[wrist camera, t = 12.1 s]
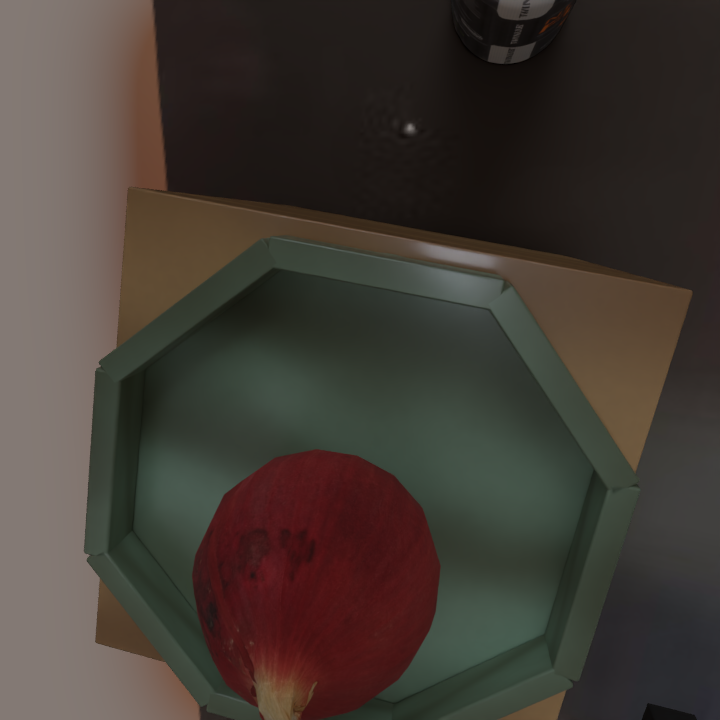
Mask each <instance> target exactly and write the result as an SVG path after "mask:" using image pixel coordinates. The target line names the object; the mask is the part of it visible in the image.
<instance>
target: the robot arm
mask: <svg viewBox="0 0 720 720" xmlns="http://www.w3.org/2000/svg"><path fill="white" fill-rule="evenodd" d="M642 720H697V719H696V717H695V715H692V714H688V713H684V712H680V711H676V710H673V709H669V708H665V707H661V706H657V705H653V704H649V703H648V704H647V707H646V710H645V712H644V715H643V718H642Z"/></svg>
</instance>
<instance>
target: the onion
mask: <svg viewBox="0 0 720 720" xmlns="http://www.w3.org/2000/svg"><path fill="white" fill-rule="evenodd" d="M440 568H441V565H440V562H439V559H438V555H437V552H436V549H435V546H434V542H433V539H432V536H431V533H430V529H429V526H428V523H427V520H426V517H425V514H424V511H423V508H422V507H421V505H420V504H419V503H418V502H417V501H416V500H415V499H414V498H413V496H412V495H411V494H410V493H409V492H408V491H407V490H406V488H405V487H404V486H403V485H402V484H401V483H400V482H399V480H398V479H397V478H396V477H395V476H394V475H393V474H391V473H389V472H387V471H385V470H383V469H381V468H380V467H378V466H376V465H374V464H372V463H370V462H368V461H366V460H365V459H363V458H361V457H359V456H357V455H351V454H344V453H338V452H332V451H326V450H319V449H314V450H309V451H304V452H299V453H295V454H290V455H285V456H280V457H275V458H274V459H272V460H271V461H269V462H268V463H267V464H265V465H264V466H262V467H261V468H259V469H258V470H257V471H255V472H254V473H252V474H251V475H249V476H248V477H247V478H245V479H244V480H242V481H241V482H240V483H238V484H237V485H236V486H234V487H233V488H232V489H231V490H229V491H228V492H227V493H225V494H224V496H223V498H222V500H221V502H220V504H219V506H218V508H217V510H216V512H215V514H214V516H213V518H212V520H211V523H210V525H209V527H208V529H207V531H206V533H205V535H204V537H203V540H202V542H201V544H200V546H199V548H198V550H197V552H196V554H195V560H194V566H193V572H192V580H193V588H194V596H195V600H196V607H197V614H198V618H199V621H200V625H201V628H202V631H203V635H204V638H205V641H206V645H207V647H208V650H209V652H210V654H211V657H212V659H213V661H214V663H215V665H216V667H217V669H218V671H219V673H220V675H221V676H222V678H223V680H224V681H225V683H226V685H227V686H228V687H229V688H231V689H232V690H233V691H234V692H236V693H237V694H238V695H239V696H241V697H242V698H243V699H244V700H246V701H247V702H248V703H249V704H251V705H253V706H255V707H258V708H259V714H260V717H261V719H262V720H320V719H324V718H328V717H332V716H336V715H340V714H344V713H348V712H351V711H354V710H356V709H358V708H360V707H361V706H362V705H364V704H365V703H367V702H368V701H369V700H371V699H372V698H374V697H375V696H376V695H378V694H379V693H381V692H382V691H383V690H385V689H386V688H388V687H389V686H390V685H392V684H393V683H395V682H396V681H397V680H399V678H400V677H401V676H402V674H403V673H404V672H405V671H406V669H407V668H408V667H409V665H410V663H411V662H412V660H413V658H414V657H415V655H416V653H417V651H418V650H419V648H420V646H421V644H422V643H423V641H424V639H425V638H426V636H427V634H428V632H429V631H430V628H431V625H432V622H433V619H434V615H435V612H436V605H437V596H438V587H439V577H440Z"/></svg>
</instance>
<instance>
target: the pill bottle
mask: <svg viewBox="0 0 720 720" xmlns="http://www.w3.org/2000/svg"><path fill="white" fill-rule="evenodd" d="M451 2H452V17H453V21H454V25H455V29H456V32H457V34H458V35H459V36H460V38H461V40H462V42H463V43H464V45H465V46H466V47H467V48H468V49H469V50H470V51H471V52H472V53H473V54H475V55H476V56H478V57H479V58H481V59H483V60H485V61H488V62H492V63H498V64H511V63H517V62H521V61H524V60H526V59H529V58H531V57H533V56H535V55H536V54H538V53H539V52H541V51H542V50H543V49H545V48H546V47H547V46H548V45H549V44H550V43H551V42H552V40H553V39H554V38H555V37H556V35H557V34H558V32H559V31H560V29H561V27H562V25H563V24H564V22H565V20H566V18H567V17H568V15H569V13H570V11H571V9H572V7H573V6H574V4H575V2H576V0H451Z"/></svg>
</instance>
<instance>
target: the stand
mask: <svg viewBox="0 0 720 720" xmlns="http://www.w3.org/2000/svg"><path fill="white" fill-rule="evenodd" d="M125 224H126V225H125V238H124V251H123V265H122V279H121V293H120V294H121V295H120V307H119V322H118V335H117V348H116V349H115V350H113V351H112V352H111V353H109V354H108V355H107V356H105V357H104V358H103V359H101V360H100V361H99V364H100V365H101V367H99V368H97V369H96V371H95V387H94V404H93V419H92V434H91V451H90V466H89V482H88V497H87V513H86V529H85V545H84V552H85V553H86V554H89V555H90V556H89V557H88V558H87V562H88V563H89V564H90V566H91V567H92V568H93V570H94V571H95V572H96V573H97V575H98V576H99V577H100V584H99V598H98V612H97V627H96V641H95V642H96V643H98V644H102V645H105V646H109V647H112V648H116V649H120V650H123V651H127V652H131V653H134V654H138V655H142V656H145V657H149V658H152V659H156V660H159V661H163V662H166V663H167V664H168V666H169V667H170V668H171V669H172V671H173V672H174V673H175V674H176V676H177V677H178V678H179V679H180V681H181V682H182V683H183V685H184V686H185V687H186V689H187V690H188V691H189V692H190V694H191V695H192V696H193V698H194V699H195V700H196V701H197V703H198V704H199V705H200V706H201V707H202V706H204V705H206V704H207V712H210V713H214V714H217V715H221V716H224V717H228V718H232V719H235V720H262V719H261V717H260V714H259V708H258V707H255V706H253V705H251V704H249V703H248V702H247V701H246V700H244V699H243V698H242V697H241V696H239V695H238V694H237V693H236V692H234V691H233V690H232V689H231V688H229V687H228V686H227V685H226V683H225V681H224V680H223V678H222V676H221V675H220V673H219V671H218V669H217V667H216V665H215V663H214V661H213V659H212V657H211V654H210V652H209V650H208V647H207V645H206V641H205V638H204V635H203V631H202V628H201V625H200V621H199V618H198V614H197V607H196V600H195V596H194V588H193V580H192V572H193V566H194V560H195V554H196V552H197V550H198V548H199V546H200V544H201V542H202V540H203V537H204V535H205V533H206V531H207V529H208V527H209V525H210V523H211V520H212V518H213V516H214V514H215V512H216V510H217V508H218V506H219V504H220V502H221V500H222V498H223V496H224V494H225V493H227V492H228V491H229V490H231V489H232V488H233V487H234V486H236V485H237V484H238V483H240V482H241V481H242V480H244V479H245V478H247V477H248V476H249V475H251V474H252V473H254V472H255V471H257V470H258V469H259V468H261V467H262V466H264V465H265V464H267V463H268V462H269V461H271V460H272V459H274V458H275V457H280V456H285V455H290V454H295V453H299V452H304V451H309V450H314V449H319V450H326V451H332V452H338V453H344V454H351V455H357V456H359V457H361V458H363V459H365V460H366V461H368V462H370V463H372V464H374V465H376V466H378V467H380V468H381V469H383V470H385V471H387V472H389V473H391V474H393V475H394V476H395V477H396V478H397V479H398V480H399V482H400V483H401V484H402V485H403V486H404V487H405V488H406V490H407V491H408V492H409V493H410V494H411V495H412V496H413V498H414V499H415V500H416V501H417V502H418V503H419V504H420V505H421V507H422V508H423V511H424V514H425V517H426V520H427V523H428V526H429V529H430V533H431V536H432V539H433V542H434V546H435V549H436V552H437V555H438V559H439V562H440V565H441V568H440V577H439V587H438V596H437V605H436V612H435V615H434V619H433V622H432V625H431V628H430V631H429V632H428V634H427V636H426V638H425V639H424V641H423V643H422V644H421V646H420V648H419V650H418V651H417V653H416V655H415V657H414V658H413V660H412V662H411V663H410V665H409V667H408V668H407V669H406V671H405V672H404V673H403V674H402V676H401V677H400V678H399V680H397V681H396V682H395V683H393V684H392V685H390V686H389V687H388V688H386V689H385V690H383V691H382V692H381V693H379V694H378V695H376V696H375V697H374V698H372V699H371V700H369V701H368V702H367V703H365V704H364V705H362V706H361V707H360V708H358V709H356V710H354V711H351V712H348V713H344V714H340V715H336V716H332V717H328V718H324V719H320V720H557V718H558V714H559V711H560V708H561V705H562V702H563V699H564V696H565V692H566V690H568V689H570V688H572V687H573V682H572V680H574V681H579V679H580V676H581V673H582V670H583V667H584V664H585V661H586V657H587V654H588V651H589V648H590V645H591V642H592V639H593V636H594V633H595V630H596V627H597V623H598V620H599V617H600V614H601V611H602V608H603V605H604V602H605V599H606V596H607V593H608V589H609V586H610V583H611V580H612V577H613V574H614V571H615V568H616V565H617V562H618V559H619V555H620V552H621V549H622V546H623V543H624V540H625V537H626V534H627V531H628V528H629V525H630V522H631V518H632V515H633V512H634V509H635V506H636V503H637V500H638V497H639V494H640V488H639V487H638V485H637V484H636V483H638V482H639V478H638V477H637V475H636V474H635V473H636V470H637V467H638V463H639V460H640V457H641V454H642V451H643V448H644V445H645V441H646V438H647V435H648V432H649V429H650V426H651V423H652V419H653V416H654V413H655V410H656V407H657V404H658V401H659V397H660V394H661V391H662V388H663V385H664V382H665V379H666V376H667V372H668V369H669V366H670V363H671V360H672V357H673V354H674V350H675V347H676V344H677V341H678V338H679V335H680V332H681V328H682V325H683V322H684V319H685V316H686V313H687V310H688V306H689V303H690V300H691V297H692V294H693V292H692V291H691V290H689V289H685V288H681V287H678V286H674V285H670V284H667V283H663V282H659V281H656V280H652V279H648V278H645V277H641V276H637V275H634V274H630V273H626V272H623V271H619V270H615V269H612V268H608V267H604V266H601V265H597V264H593V263H590V262H586V261H582V260H579V259H575V258H571V257H568V256H563V255H558V254H552V253H547V252H541V251H536V250H530V249H525V248H519V247H514V246H509V245H503V244H498V243H492V242H487V241H481V240H476V239H470V238H465V237H459V236H454V235H448V234H443V233H437V232H432V231H426V230H421V229H415V228H410V227H404V226H399V225H393V224H388V223H382V222H377V221H371V220H366V219H360V218H355V217H349V216H344V215H339V214H333V213H328V212H322V211H317V210H311V209H306V208H300V207H295V206H288V205H279V204H271V203H262V202H254V201H246V200H237V199H229V198H220V197H212V196H204V195H195V194H187V193H178V192H170V191H162V190H161V191H160V190H153V189H145V188H136V187H129V188H128V196H127V210H126V223H125Z"/></svg>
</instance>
